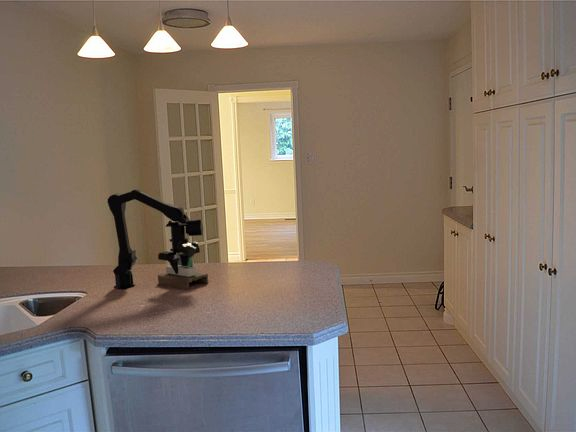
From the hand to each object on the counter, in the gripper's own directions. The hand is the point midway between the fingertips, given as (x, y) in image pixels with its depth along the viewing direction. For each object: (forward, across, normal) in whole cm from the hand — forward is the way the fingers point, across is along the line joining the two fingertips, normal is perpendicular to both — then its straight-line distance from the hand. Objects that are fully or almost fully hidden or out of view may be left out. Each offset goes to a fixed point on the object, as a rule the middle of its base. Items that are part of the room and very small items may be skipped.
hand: (180, 272), depth 222 cm
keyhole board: (+5, +1, 0) cm, 5 cm away
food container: (+5, +14, +12) cm, 19 cm away
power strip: (+4, 0, 0) cm, 4 cm away
